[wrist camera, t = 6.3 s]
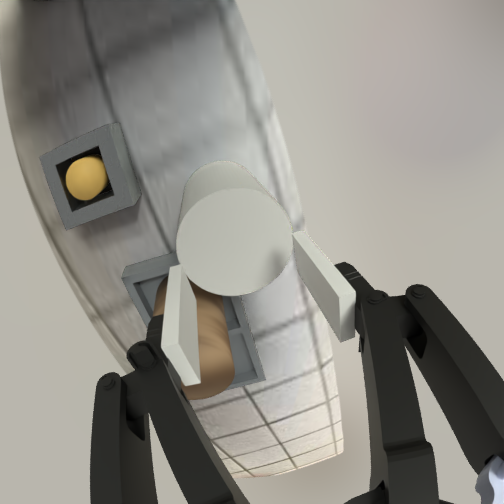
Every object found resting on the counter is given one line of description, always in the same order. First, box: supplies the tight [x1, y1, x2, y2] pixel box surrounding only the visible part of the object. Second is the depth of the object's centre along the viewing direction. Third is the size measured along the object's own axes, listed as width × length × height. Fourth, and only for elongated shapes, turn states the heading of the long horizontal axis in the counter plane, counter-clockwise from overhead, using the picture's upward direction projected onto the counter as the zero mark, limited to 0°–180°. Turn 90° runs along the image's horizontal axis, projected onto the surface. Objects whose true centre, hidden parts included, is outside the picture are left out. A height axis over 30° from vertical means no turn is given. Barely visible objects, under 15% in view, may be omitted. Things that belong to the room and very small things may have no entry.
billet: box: [153, 275, 235, 400], centre depth 29 cm, size 8×8×12 cm
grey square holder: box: [40, 123, 142, 230], centre depth 25 cm, size 8×8×4 cm
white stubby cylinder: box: [176, 161, 293, 296], centre depth 25 cm, size 8×8×12 cm
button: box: [66, 154, 110, 200], centre depth 24 cm, size 4×4×3 cm
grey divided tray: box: [121, 252, 266, 391], centre depth 36 cm, size 23×12×3 cm, turn 12°
